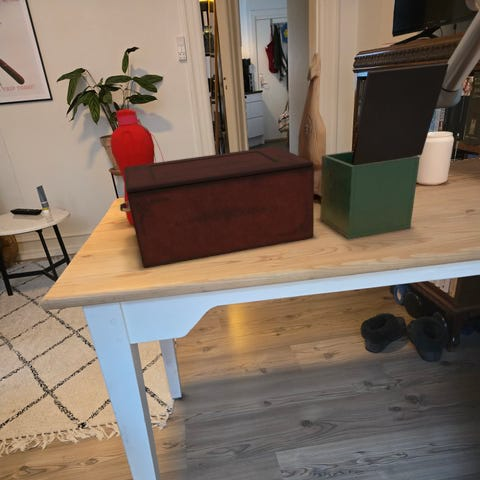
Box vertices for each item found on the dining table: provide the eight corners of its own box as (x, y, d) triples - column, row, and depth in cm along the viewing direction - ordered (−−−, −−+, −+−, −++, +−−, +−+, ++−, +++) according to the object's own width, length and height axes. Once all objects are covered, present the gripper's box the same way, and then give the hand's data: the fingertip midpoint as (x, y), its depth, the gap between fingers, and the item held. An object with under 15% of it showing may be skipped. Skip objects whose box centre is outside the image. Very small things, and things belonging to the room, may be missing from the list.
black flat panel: (367, 71, 63) (369, 72, 62) (446, 62, 65) (449, 64, 64) (351, 163, 73) (353, 165, 73) (419, 153, 76) (421, 155, 75)
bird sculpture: (283, 201, 106) (278, 56, 90) (299, 190, 115) (297, 55, 98) (324, 204, 101) (327, 50, 85) (338, 191, 110) (343, 49, 93)
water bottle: (171, 224, 98) (150, 108, 85) (126, 228, 99) (98, 113, 86) (175, 212, 106) (157, 105, 93) (134, 216, 107) (109, 109, 94)
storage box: (285, 207, 102) (283, 142, 94) (323, 236, 83) (325, 158, 75) (129, 232, 96) (113, 165, 88) (131, 270, 76) (111, 188, 69)
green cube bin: (320, 219, 92) (321, 155, 85) (376, 210, 94) (381, 147, 87) (348, 239, 80) (351, 166, 73) (410, 227, 83) (420, 156, 75)
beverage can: (414, 178, 115) (420, 131, 108) (446, 178, 112) (454, 130, 105) (413, 185, 108) (419, 137, 102) (446, 186, 105) (455, 135, 99)
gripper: (448, 147, 130) (472, 160, 112) (367, 153, 134) (378, 166, 116) (452, 121, 126) (478, 130, 109) (369, 127, 130) (380, 138, 112)
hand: (426, 149), depth 112 cm, fingers open, 13 cm apart
